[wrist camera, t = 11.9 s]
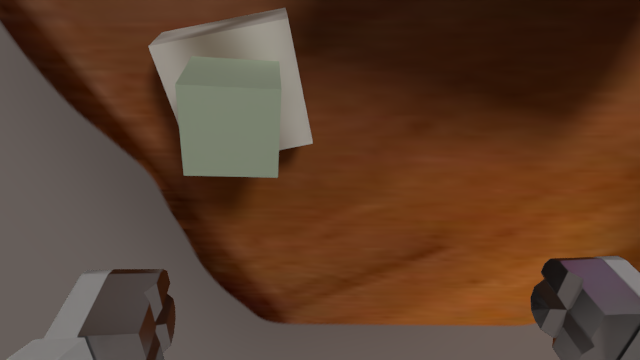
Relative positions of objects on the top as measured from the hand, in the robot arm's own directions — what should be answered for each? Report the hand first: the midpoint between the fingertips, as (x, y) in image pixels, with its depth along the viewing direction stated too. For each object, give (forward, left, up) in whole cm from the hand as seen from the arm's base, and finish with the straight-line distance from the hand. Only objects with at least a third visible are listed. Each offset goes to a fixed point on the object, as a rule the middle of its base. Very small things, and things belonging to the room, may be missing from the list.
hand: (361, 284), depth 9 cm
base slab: (+4, +3, -22) cm, 23 cm away
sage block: (+4, +3, -18) cm, 19 cm away
